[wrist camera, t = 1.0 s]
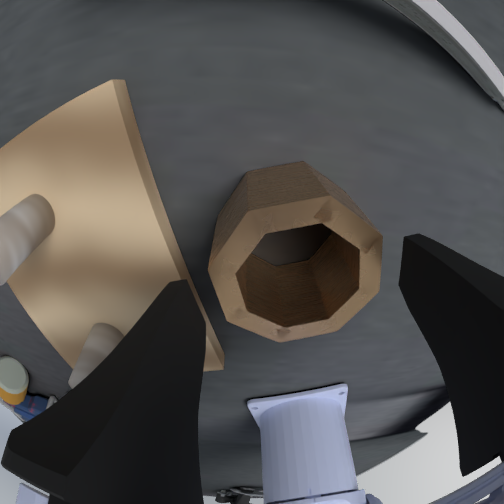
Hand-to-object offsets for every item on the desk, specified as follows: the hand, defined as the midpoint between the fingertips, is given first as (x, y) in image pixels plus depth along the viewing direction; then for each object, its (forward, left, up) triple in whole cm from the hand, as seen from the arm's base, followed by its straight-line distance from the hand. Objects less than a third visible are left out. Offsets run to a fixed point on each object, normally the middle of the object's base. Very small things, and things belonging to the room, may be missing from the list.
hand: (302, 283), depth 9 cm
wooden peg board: (0, +11, -4) cm, 12 cm away
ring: (0, 0, -4) cm, 4 cm away
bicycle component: (-63, +15, -5) cm, 65 cm away
